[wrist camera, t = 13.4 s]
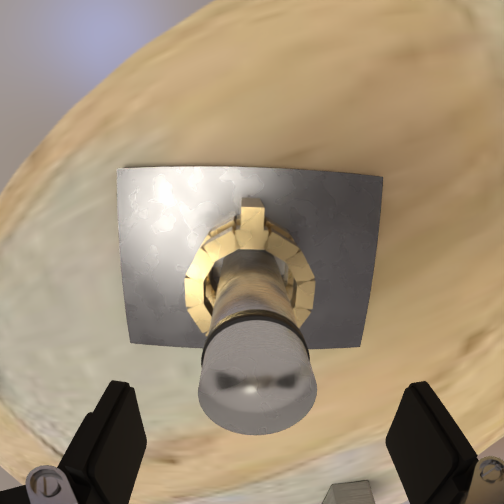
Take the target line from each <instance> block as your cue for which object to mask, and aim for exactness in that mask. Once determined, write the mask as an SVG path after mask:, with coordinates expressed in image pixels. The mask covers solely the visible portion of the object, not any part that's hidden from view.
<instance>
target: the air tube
mask: <svg viewBox="0 0 504 504" xmlns="http://www.w3.org/2000/svg"><path fill="white" fill-rule="evenodd" d="M201 365H202V371H201V377H200V382H199V388H198V398H199V402H200V405H201V407H202V409H203V411H204V412H205V414H206V415H207V416H208V417H209V418H210V419H211V420H212V421H213V422H214V423H216V424H217V425H219V426H221V427H222V428H224V429H227V430H229V431H232V432H235V433H239V434H245V435H266V434H272V433H276V432H279V431H282V430H285V429H287V428H289V427H291V426H293V425H294V424H296V423H297V422H299V421H300V420H301V419H302V418H304V417H305V416H306V414H307V413H308V412H309V411H310V409H311V408H312V406H313V404H314V402H315V399H316V395H317V384H316V380H315V377H314V374H313V371H312V367H311V364H310V357H309V351H308V347H307V344H306V342H305V339H304V336H303V334H302V332H301V331H300V329H299V328H298V325H297V322H296V319H295V316H294V313H293V310H292V307H291V304H290V301H289V298H288V295H287V292H286V289H285V286H284V283H283V280H282V277H281V274H280V271H279V268H278V265H277V262H276V260H275V257H274V255H273V254H271V253H269V252H268V251H266V250H257V249H238V250H236V251H234V252H232V253H230V254H228V255H226V256H224V259H223V264H222V269H221V274H220V278H219V283H218V288H217V293H216V298H215V303H214V308H213V313H212V319H211V324H210V329H209V334H208V336H207V338H206V340H205V343H204V348H203V353H202V358H201Z"/></svg>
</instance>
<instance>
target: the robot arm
mask: <svg viewBox="0 0 504 504" xmlns="http://www.w3.org/2000/svg"><path fill="white" fill-rule="evenodd" d="M146 445H147V439H146V435H145V431H144V427H143V423H142V419H141V415H140V411H139V407H138V403H137V399H136V394H135V390H134V388H133V387H130V385H129V383H127V382H121V381H114V380H112V381H111V382H110V383H109V385H108V387H107V388H106V390H105V392H104V394H103V395H102V397H101V399H100V401H99V402H98V404H97V406H96V408H95V410H94V411H93V412H90V413H88V414H87V415H86V416H85V418H84V420H83V422H82V423H81V425H80V427H79V429H78V430H77V432H76V434H75V436H74V438H73V439H72V441H71V443H70V445H69V447H68V448H67V450H66V452H65V454H64V456H63V458H62V460H61V461H60V463H59V465H58V467H57V468H56V467H54V466H49V465H44V466H39V467H36V468H34V469H33V470H32V471H30V473H29V474H28V476H27V478H26V485H23V486H19V487H15V488H12V489H8V490H4V491H0V504H128V503H129V500H130V497H131V493H132V490H133V487H134V484H135V480H136V477H137V474H138V471H139V468H140V465H141V461H142V458H143V455H144V452H145V449H146ZM386 446H387V449H388V451H389V454H390V456H391V458H392V461H393V463H394V465H395V468H396V470H397V473H398V475H399V477H400V480H401V482H402V485H403V487H404V490H405V492H406V495H407V497H408V500H409V502H410V504H504V461H503V460H501V459H500V458H497V457H494V456H488V457H484V458H482V459H480V460H478V459H477V456H478V455H477V454H476V452H475V451H474V449H473V448H472V446H471V445H470V443H469V442H468V440H467V439H466V437H465V436H464V434H463V433H462V431H461V430H460V428H459V427H458V425H457V424H456V422H455V421H454V419H453V418H452V416H451V415H450V414H449V412H448V411H447V409H446V408H445V406H444V405H443V404H442V402H441V401H440V399H439V398H438V396H437V395H436V394H435V392H434V391H433V389H432V388H431V387H430V385H429V384H428V383H427V382H426V381H422V382H416V383H411V384H410V385H409V387H408V388H406V389H405V391H404V394H403V396H402V399H401V402H400V404H399V407H398V410H397V412H396V415H395V417H394V420H393V422H392V425H391V427H390V429H389V432H388V434H387V436H386Z"/></svg>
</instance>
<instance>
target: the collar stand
mask: <svg viewBox="0 0 504 504" xmlns="http://www.w3.org/2000/svg"><path fill="white" fill-rule="evenodd" d="M382 187H383V177H380V176H371V175H362V174H351V173H340V172H328V171H314V170H299V169H281V168H257V167H205V166H193V167H142V168H119V169H117V208H118V231H119V247H120V261H121V272H122V283H123V292H124V301H125V309H126V317H127V324H128V331H129V337H130V343H135V344H146V345H158V346H172V347H188V348H204V343H205V340H206V338H207V336H208V334H209V329H210V324H211V319H212V313H213V308H214V303H215V298H216V293H217V288H218V283H219V278H220V274H221V269H222V264H223V259H224V256H226V255H228V254H230V253H232V252H234V251H236V250H238V249H257V250H266V251H268V252H269V253H271V254H273V255H274V257H275V260H276V262H277V265H278V268H279V271H280V274H281V277H282V280H283V283H284V286H285V289H286V292H287V295H288V298H289V301H290V304H291V307H292V310H293V313H294V316H295V319H296V322H297V325H298V328H299V329H300V331H301V332H302V334H303V336H304V339H305V342H306V344H307V347H308V349H330V348H350V347H360V345H361V340H362V335H363V330H364V325H365V319H366V314H367V309H368V303H369V297H370V291H371V285H372V278H373V271H374V264H375V257H376V249H377V241H378V232H379V222H380V212H381V200H382Z"/></svg>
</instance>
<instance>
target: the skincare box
mask: <svg viewBox="0 0 504 504" xmlns="http://www.w3.org/2000/svg"><path fill="white" fill-rule="evenodd" d="M322 504H375V501H374V498H373V495H372V491H371V488H370V485H369V482H368V481H360V482H352V483H341V484H333V485H332V486H331V488H330V490H329V492H328V494H327V496H326V498H325V500H324V501H323V503H322Z"/></svg>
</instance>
